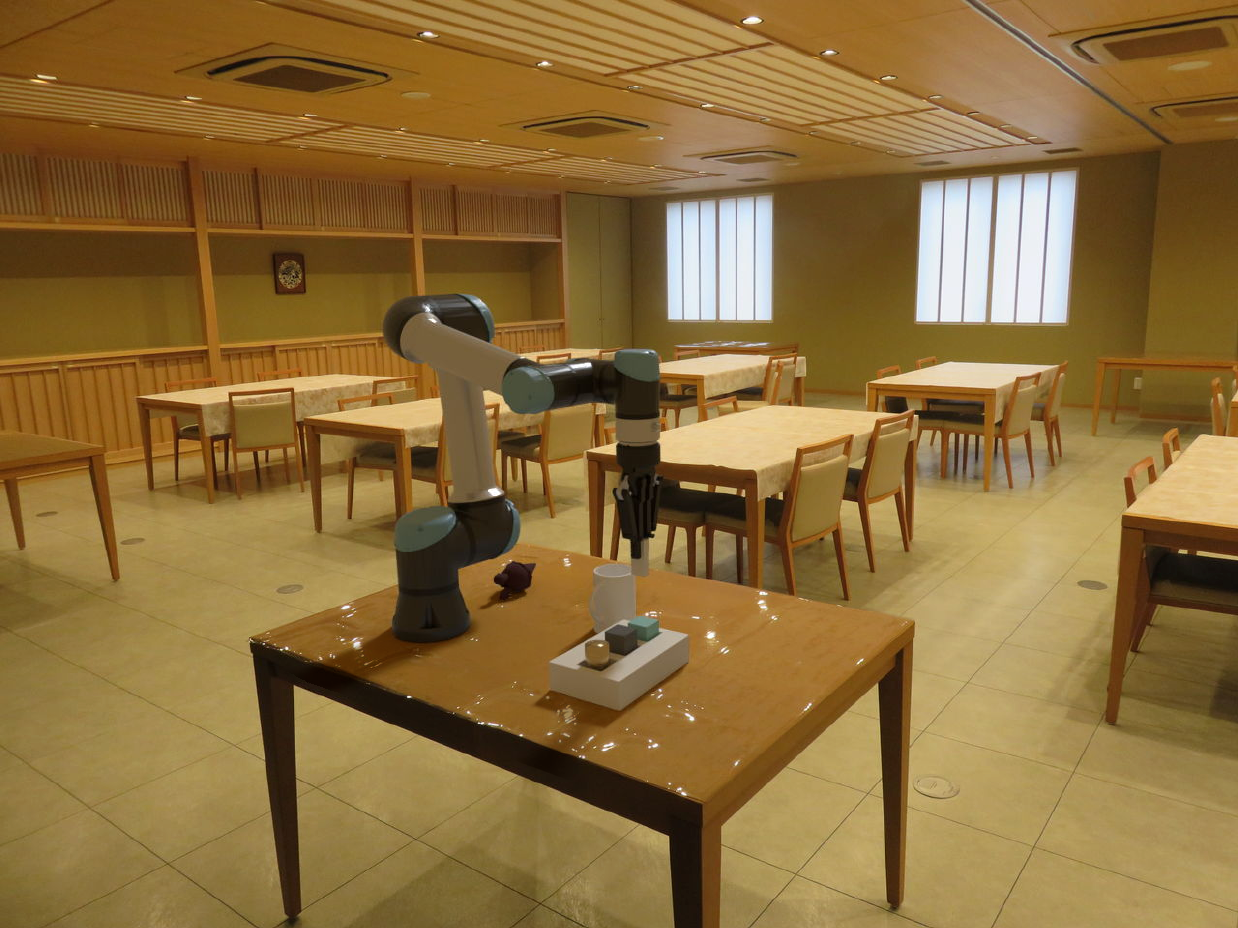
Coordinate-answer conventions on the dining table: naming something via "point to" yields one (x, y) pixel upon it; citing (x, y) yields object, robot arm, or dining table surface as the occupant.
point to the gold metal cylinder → (597, 655)
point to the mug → (612, 596)
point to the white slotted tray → (620, 669)
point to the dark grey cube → (621, 639)
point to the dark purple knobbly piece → (514, 578)
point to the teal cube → (645, 628)
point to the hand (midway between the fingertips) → (640, 574)
